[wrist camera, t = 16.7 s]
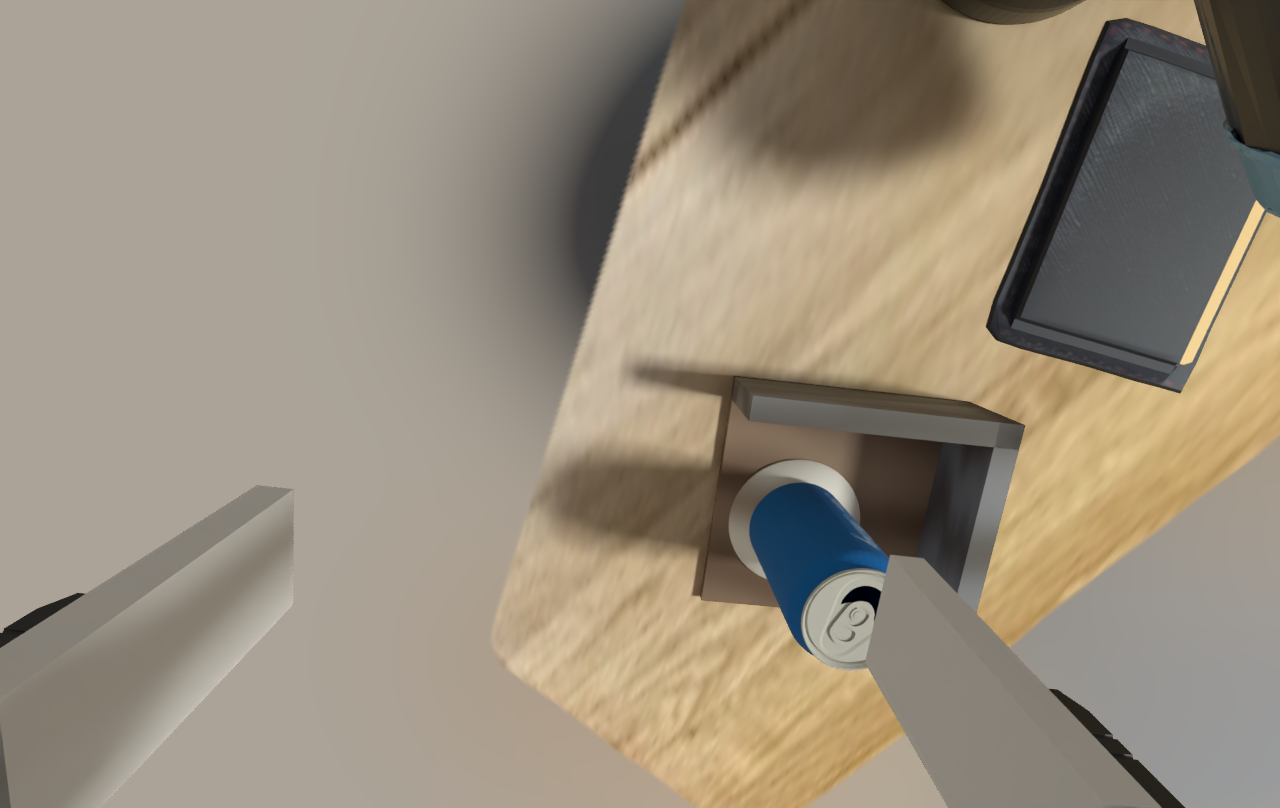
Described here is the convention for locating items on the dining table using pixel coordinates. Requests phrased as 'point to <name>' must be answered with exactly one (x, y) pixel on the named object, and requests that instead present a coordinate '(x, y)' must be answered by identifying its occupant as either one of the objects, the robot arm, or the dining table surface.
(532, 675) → the dining table surface
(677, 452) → the dining table surface
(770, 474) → the corner tray
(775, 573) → the beverage can
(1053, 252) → the dark grey flat rectangle
